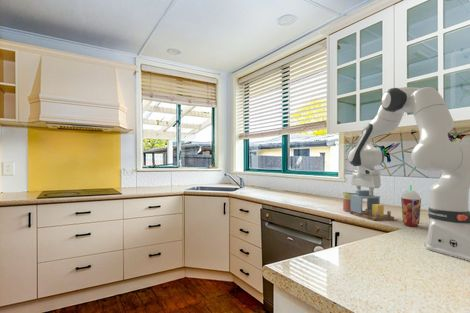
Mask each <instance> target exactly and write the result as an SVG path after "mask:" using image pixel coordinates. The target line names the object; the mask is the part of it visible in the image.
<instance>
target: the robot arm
mask: <svg viewBox="0 0 470 313" xmlns="http://www.w3.org/2000/svg"><path fill="white" fill-rule="evenodd" d="M404 113H407V114H408V113H409V114H410V113H412V116H413V117H414V119H415V123H416V126H417V130H418V132H419V140H418V143H417V144H416V145H415V146H414V148H413V149H412V151H411V155H410V156H411V162H412V163H413V165H414V166H415V167H416V168H417V169H419V170H425V171H428V172H441V174H440V177H439V179H438V180H437V181H436V182H434V183H433V184H431V186H430V188H429V207H428V210H427V211H428V215H427V217H428V219H429V221H428V229H427V234H426V238H425V241H424V246H426V249H427V250H428V251H429V250H430V251H433V252H436V253H439V254H443V255H446V256H451V257H453V256H454V258H457V257H458V258H457V259H460V258H461V260H464V259H465V260H464V261H467V260H468V262H470V210H469V201H470V200H469V199H470V198H469V196H470V195H469V194H470V142H468V141H451V140H450V139H449V133H450V132H451V131H452V130H453V129H454V126H455V122H454V119H453V117H452V114H451V112H450V110H449V108H448V106H447V103H446V102H445V99H444V98H443V96H442V95H441V94H440V93H439V91H438V90H437V89H436V88H435V87H433V86H425V87H411V86H407V87H391V88H388V89H386V90H385V91H384V92H383V94H382V95H381V101H380V106H379V107H378V111H377V113H376V115H375V117H374V118H373V120H371V121H370V122H369V123H367V124H365V126H364V127H363V129H362V131H361V133H360V135H359V136H358V138H357V140H356V141H355V144H354V145H353V146H352V147H351V149H350V151H349V152H348V155H347V160H348V163H350V164H351V166H353V167H356V169H355V170H353V171H352V175H351V179H350V180H351V181H350V182H351V186H356V190H362V187H364V188H368V190H369V192H368V195H372V192H373V193H374V191H375V190H374V189H379V188H380V187H381V185H382V184H381V176H380V175H381V171H380V170H379V169H376V168H374V166H375V167H377V166H380V165H382V164H383V163H384V161H385V153H384V151H382V150H381V149H379V148H377V147H374V145H373V144H372V143H370V141H371V140H372V139H373V138H376V137H379V136H382V135H386V134H390V133H391V132H394V131H395V130H397V128H398V127H399V125H400V123H401V121H402V119H403V116H404Z"/></svg>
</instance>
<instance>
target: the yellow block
mask: <svg viewBox="0 0 470 313" xmlns="http://www.w3.org/2000/svg"><path fill="white" fill-rule="evenodd" d="M384 207H385V206H384V205H383V204H372V215H373V216H376V212H379V217H380V216H384V211H385V210H384V209H385V208H384Z"/></svg>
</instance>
